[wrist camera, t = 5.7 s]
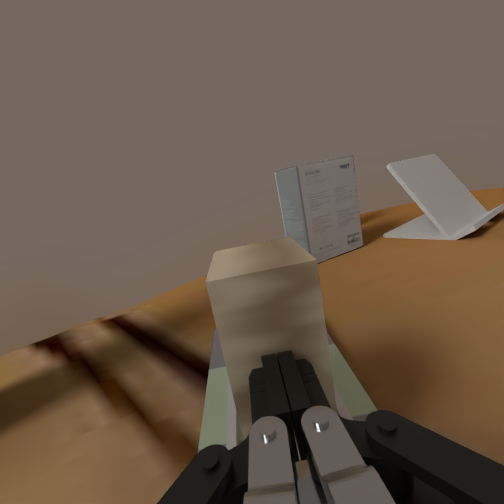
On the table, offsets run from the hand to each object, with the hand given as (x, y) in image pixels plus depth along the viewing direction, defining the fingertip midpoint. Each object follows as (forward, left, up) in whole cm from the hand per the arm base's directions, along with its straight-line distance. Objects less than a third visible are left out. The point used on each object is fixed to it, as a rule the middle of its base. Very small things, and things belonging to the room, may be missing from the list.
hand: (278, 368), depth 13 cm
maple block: (0, +3, -7) cm, 8 cm away
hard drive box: (+17, +47, -9) cm, 50 cm away
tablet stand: (+48, +51, -10) cm, 70 cm away
